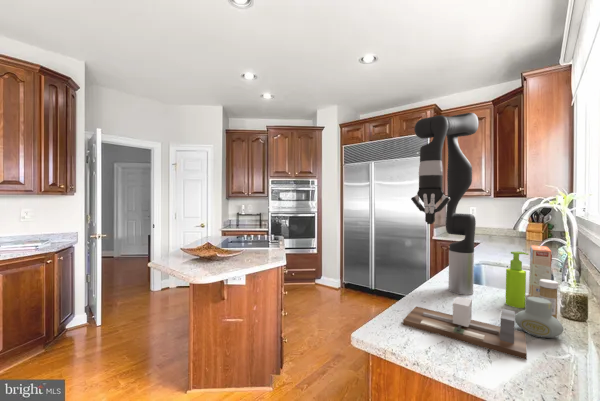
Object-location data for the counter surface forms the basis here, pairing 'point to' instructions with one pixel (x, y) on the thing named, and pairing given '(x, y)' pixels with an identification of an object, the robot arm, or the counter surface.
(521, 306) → the soap dispenser
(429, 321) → the base
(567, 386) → the counter surface
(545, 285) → the sprinkles bottle
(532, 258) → the cracker box
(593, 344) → the counter surface
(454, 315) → the block
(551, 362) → the counter surface
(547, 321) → the air freshener
